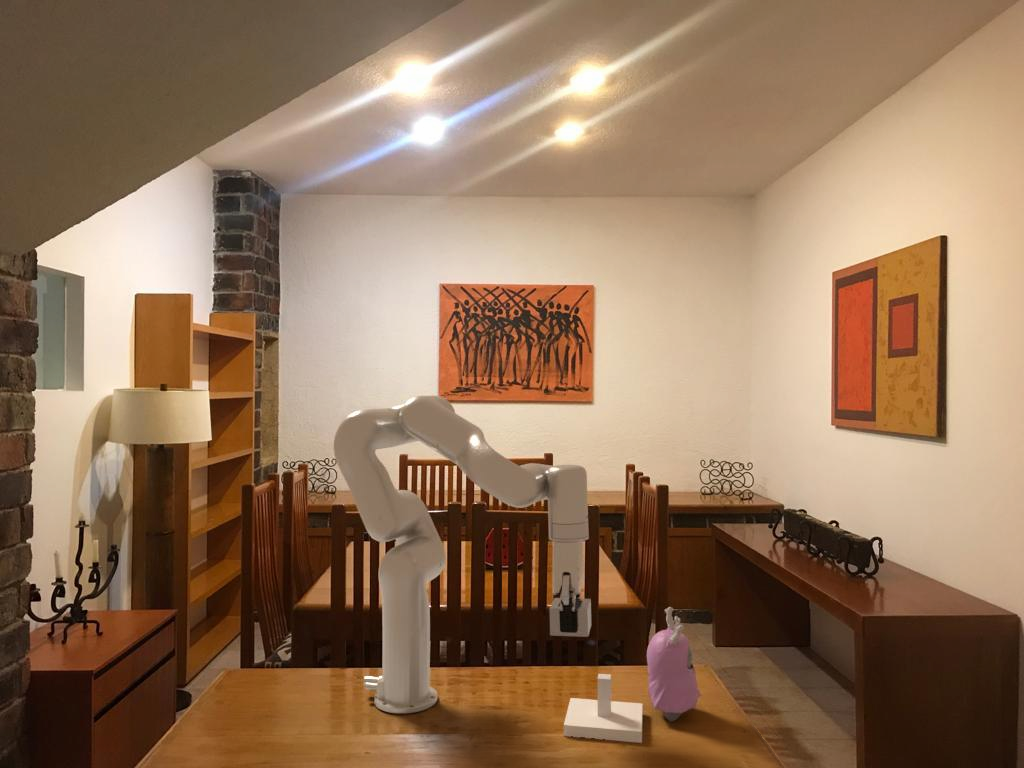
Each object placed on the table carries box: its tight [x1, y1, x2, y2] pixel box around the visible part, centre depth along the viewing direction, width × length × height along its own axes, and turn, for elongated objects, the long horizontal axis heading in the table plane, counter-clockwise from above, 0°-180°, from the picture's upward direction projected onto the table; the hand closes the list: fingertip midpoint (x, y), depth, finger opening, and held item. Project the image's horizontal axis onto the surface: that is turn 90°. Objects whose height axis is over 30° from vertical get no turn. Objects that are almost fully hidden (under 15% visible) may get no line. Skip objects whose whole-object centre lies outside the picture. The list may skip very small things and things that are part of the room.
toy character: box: [646, 606, 702, 722], centre depth 142 cm, size 12×10×20 cm
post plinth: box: [563, 673, 643, 744], centre depth 137 cm, size 14×12×9 cm
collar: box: [549, 597, 592, 638], centre depth 138 cm, size 7×7×5 cm
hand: (571, 624), depth 138 cm, fingers closed on collar, 7 cm apart
